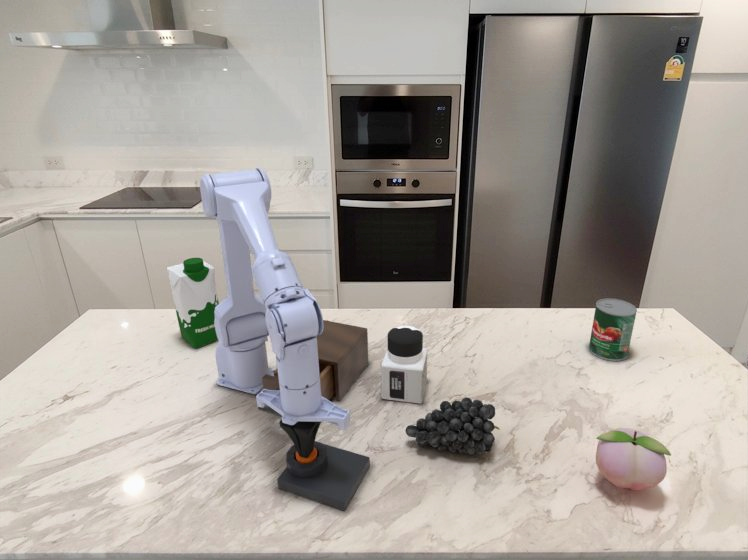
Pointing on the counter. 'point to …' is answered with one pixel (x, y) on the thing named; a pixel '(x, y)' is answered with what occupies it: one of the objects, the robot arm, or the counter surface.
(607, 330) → the canned tomato
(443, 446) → the fruit
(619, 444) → the decorative fruit
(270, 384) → the drawer
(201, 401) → the counter surface
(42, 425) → the counter surface
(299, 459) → the button
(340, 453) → the button block
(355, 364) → the cabinet
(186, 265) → the milk carton
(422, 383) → the container
